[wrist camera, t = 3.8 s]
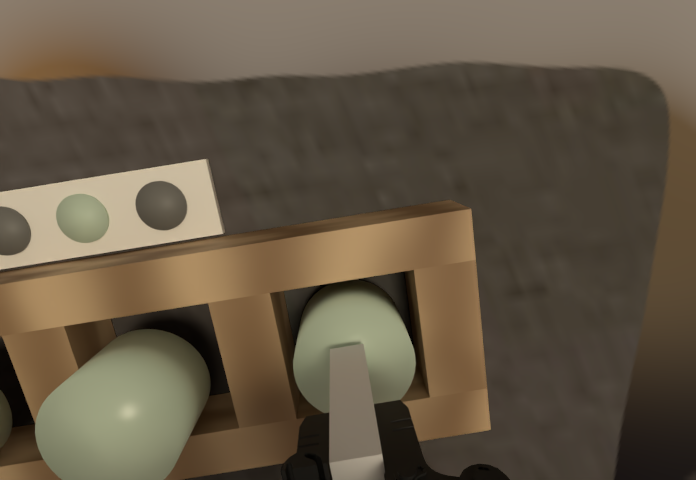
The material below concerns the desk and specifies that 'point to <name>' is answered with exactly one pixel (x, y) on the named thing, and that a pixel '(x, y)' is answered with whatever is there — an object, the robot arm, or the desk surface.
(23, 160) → the desk surface
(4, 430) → the button
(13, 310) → the button board
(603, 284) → the desk surface
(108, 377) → the button mid
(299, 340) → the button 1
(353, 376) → the robot arm
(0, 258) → the card
